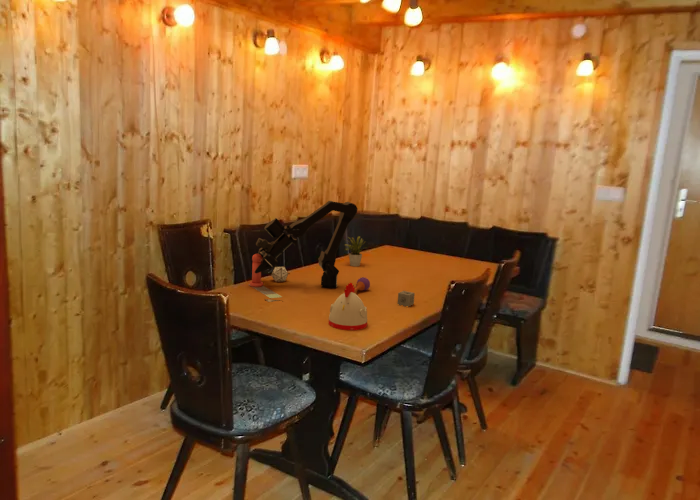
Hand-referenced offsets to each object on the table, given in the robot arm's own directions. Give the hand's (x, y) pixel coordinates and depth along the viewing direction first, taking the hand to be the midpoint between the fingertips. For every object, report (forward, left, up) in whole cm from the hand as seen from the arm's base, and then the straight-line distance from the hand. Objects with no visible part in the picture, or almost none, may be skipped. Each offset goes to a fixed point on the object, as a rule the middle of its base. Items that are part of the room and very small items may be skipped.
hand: (253, 270), depth 244 cm
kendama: (-45, -4, -8) cm, 46 cm away
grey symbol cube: (-66, +8, -8) cm, 67 cm away
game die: (-9, -12, -8) cm, 17 cm away
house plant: (-39, -64, -8) cm, 75 cm away
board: (-7, +7, -8) cm, 12 cm away
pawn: (-1, 0, -7) cm, 7 cm away
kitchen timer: (-45, +40, -8) cm, 60 cm away
